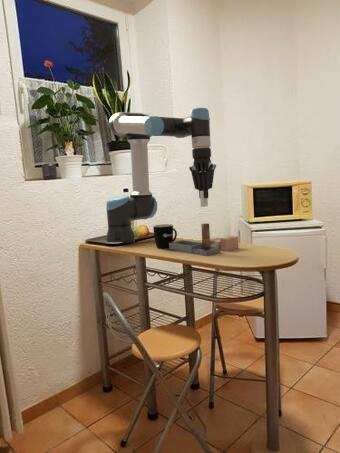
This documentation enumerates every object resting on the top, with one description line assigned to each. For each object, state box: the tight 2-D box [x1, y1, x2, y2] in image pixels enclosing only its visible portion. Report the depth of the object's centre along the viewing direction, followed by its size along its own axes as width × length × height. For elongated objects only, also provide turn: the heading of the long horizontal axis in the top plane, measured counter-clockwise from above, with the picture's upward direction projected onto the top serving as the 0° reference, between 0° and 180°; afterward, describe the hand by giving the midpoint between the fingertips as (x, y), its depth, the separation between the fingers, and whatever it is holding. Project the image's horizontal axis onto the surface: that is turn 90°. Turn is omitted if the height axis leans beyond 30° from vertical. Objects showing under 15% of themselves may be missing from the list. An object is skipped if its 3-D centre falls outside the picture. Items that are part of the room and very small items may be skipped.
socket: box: [192, 246, 221, 257], centre depth 147 cm, size 8×8×2 cm
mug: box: [152, 223, 178, 250], centre depth 164 cm, size 12×9×10 cm
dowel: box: [200, 223, 211, 250], centre depth 146 cm, size 3×3×12 cm
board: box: [210, 236, 222, 251], centre depth 157 cm, size 10×8×4 cm
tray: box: [168, 239, 202, 254], centre depth 155 cm, size 14×8×3 cm, turn 41°
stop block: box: [220, 235, 239, 252], centre depth 151 cm, size 3×8×5 cm, turn 131°
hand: (204, 206), depth 148 cm, fingers closed
